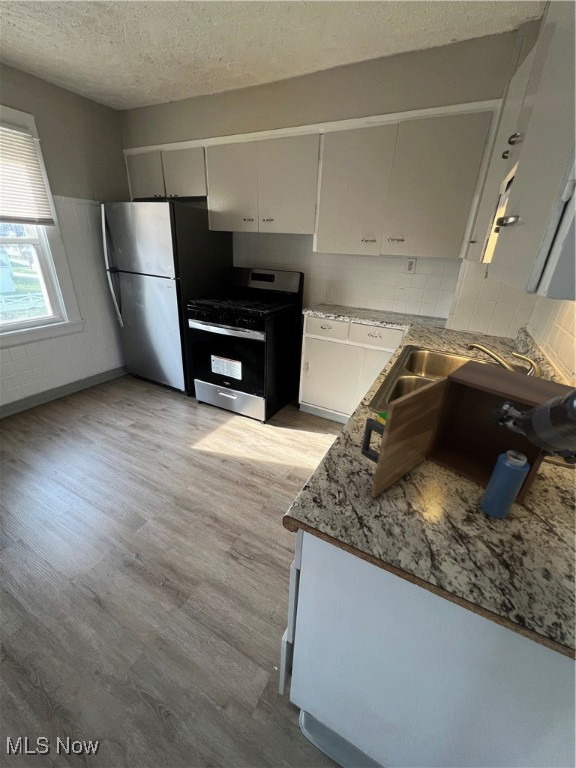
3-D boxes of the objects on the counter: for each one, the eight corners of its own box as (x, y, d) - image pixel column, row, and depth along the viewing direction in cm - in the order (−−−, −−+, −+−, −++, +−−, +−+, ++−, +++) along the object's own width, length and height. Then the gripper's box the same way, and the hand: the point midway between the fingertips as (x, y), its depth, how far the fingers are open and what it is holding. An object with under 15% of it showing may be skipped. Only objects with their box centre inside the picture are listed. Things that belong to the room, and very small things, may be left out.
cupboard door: (350, 480, 74) (365, 391, 64) (402, 446, 87) (420, 368, 77) (374, 497, 69) (394, 404, 59) (424, 459, 82) (448, 377, 72)
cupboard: (521, 505, 69) (566, 411, 59) (424, 457, 83) (447, 375, 73) (535, 472, 80) (576, 387, 69) (447, 434, 94) (470, 359, 83)
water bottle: (510, 509, 68) (535, 456, 62) (503, 523, 65) (529, 468, 58) (483, 496, 71) (505, 444, 65) (476, 508, 68) (498, 454, 62)
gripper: (633, 432, 44) (572, 444, 59) (527, 378, 50) (496, 401, 65) (603, 474, 44) (549, 476, 59) (500, 415, 50) (475, 430, 64)
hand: (521, 437), depth 62 cm, fingers open, 8 cm apart
